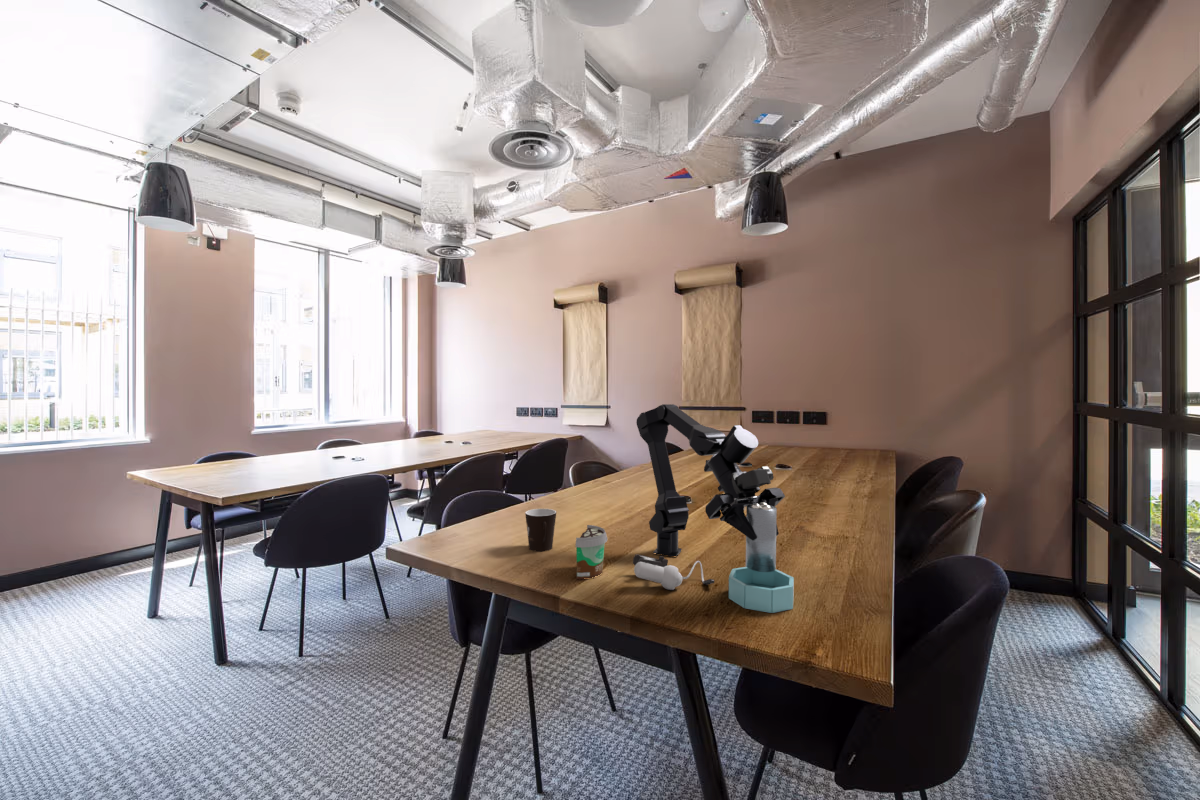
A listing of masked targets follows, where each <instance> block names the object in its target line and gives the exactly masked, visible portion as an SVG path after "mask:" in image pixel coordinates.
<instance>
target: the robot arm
mask: <svg viewBox="0 0 1200 800" xmlns="http://www.w3.org/2000/svg"><path fill="white" fill-rule="evenodd" d="M635 423H636V426H637V429H638V432H639V436H640V437H641V439H642V440H644V442H645V443H646V444H647V448H648V453H649V456H650V462H651V466H652V467H651V468H652V471H653V472H652V473H653V475H654V481H655V485H656V490H657V495H658V496H657V498H656V502H655V504H654V512H655V513H654V515H653V516H652V517H651V518H650V520H649V521H648V524H649V529H650V530H651V531H653V532H655V533H656V548H655V549H654V550H653V551H652V554H653V553H656V554H655V555H657V554H662V555H661V556H664V555H668V556H667V557H671V556H677V555H678V556H679V555H680V554H681V552H682V551H681V550H683V549H682V548H680V547H679V531H686V528H687V523H688V520H689V517H690V515H689V512H690V510H689V507H688V504H687V498H686V497H685V495H682V496H681V495H680V494H679V492H677V489H676V485H675V484H676V483H675V480H674V476H673V475H674V474H673V470H672V466H671V462H670V457H669V453H668V448H667V444H666V439H667V435H668V434H669V426H671V427H673V428H674V430H677V432H679V433H681V435H683V436H684V437H685V438H687V440H688V444H689V447H690V448H691V449H692V450H693V452H695V454H696V455H697V456H702V457H703V456H704V457H705V456H706V457H707V456H711V457H710V458H709V459H707V460H705V465H704V468H703V471H704V472H705V473H707V472H712V474H713V475H714V477H715V479H716V481H717V482H718V484H719V485H718V486H717V490H718V491H719V492H720V493H719V494H718V493H717V494H714V496H713V497H712V498H711V500H710V501H709V502H708V503H707V504H706V505H705V514H706V515H707V517H708V519H709V520H715V519H719V520H720V521H721V522H725V523H726V524H728V525H730V526H731V527H733V528H735V529H736V530H738V531H739V532H740V533H742V535H744V536H745V537H746V536H747V537H748V538H750V539H751V540H755V539H756V535H755V533H754V531H753V529H752V527H751V525H750V523H749V521H748V519H747V518H746V513H745V507H746V508H747V505H750V504H754V503H757V504H759V503H761V502H764V503H766V504H767V505H770V506H774V507H776V506H777V505H779V503H780V502H781V501H782V500H783V499H785V498H786V496H785V494H784V492H783V491H782V488H779V487H769V488H768V487H767V488H764V489H763V490H762V491H761V492H760V493H759V491H760V490H761V488H760V487H762V486H765V485H770V484H772V483H771V481H773V480H774V477H775V476H774V473H773V472H772V470H771V469H770V467H769V466H768V465H766V466H761V467H758V468H757V469H752V470H749V471H742V470H741V468H740V466H739V465H738V464H740V465H741V464H743V463H744V462H745V461H746V460H747V459H748V458H749V456H751V454H752V453H753V452H754V450H755V449H757V447H758V446H759V440H758V438H757V437H756V435H755V434H753V433H752V432H750V431H749V430H747V429H745V428H743V427H742V425H733V426H732V427H731V429H730V430H729V432H728V434H727V435H725V433H724V432H723V431H721V430H718V429H717V428H714V427H709V426H705V425H703V424H701V423H700V422H699V421H697V420H695V419H694V418H693V417H692V416H690V415H688V414H687V413H686V412H685V411H683V410H681V409H680V407H679V406H678V405H676V404H674V403H671V404H669V403H668V404H667V403H665V404H660V405H657V406H656V407H655V408H652V409H650V410H647V411H643V412H641V413H640V414H639V416H637V418H636V422H635ZM721 492H723V493H721ZM756 493H759V495H756ZM779 533H780V532H779V528H778V524H777V523H776V537H777V536H779ZM678 556H677V557H678Z"/></svg>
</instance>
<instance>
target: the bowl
mask: <svg viewBox="0 0 1200 800" xmlns="http://www.w3.org/2000/svg"><path fill="white" fill-rule="evenodd" d="M794 580H795V577H794V576H792V575H789V574H787V573H785V572H783V571H781V570H779V569H776V570H775V571H772V572H758V571H754V570H751V569H749V568H747V567H746V566H742V567H737V568H732V569H731V571H730V573H729V576H728V599H729V600H731V601H733V602H734V603H735V604H737V605H738V606H740V607H742V608H743V609H748V610H753V611H758V612H765V613H770V614H771V613H772V614H774V613H775V614H776V613H779V612H784V611H789V610H793V609H794V597H795V596H794V591H795V589H794V586H795V585H794V582H795V581H794Z"/></svg>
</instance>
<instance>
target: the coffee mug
mask: <svg viewBox="0 0 1200 800" xmlns="http://www.w3.org/2000/svg"><path fill="white" fill-rule="evenodd" d="M524 515H525V523H526V531H527V541H528V550H530V551H532V552H538V553H539V552H547V551H551V550H552V549H553V543H554V536H555V535H554V534H555V526H556V520H557V519H556V518H557V511H556V509H552V508H533V509H529V510H527V511H525V513H524Z"/></svg>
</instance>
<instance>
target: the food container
mask: <svg viewBox="0 0 1200 800" xmlns="http://www.w3.org/2000/svg"><path fill="white" fill-rule="evenodd" d="M586 525H587V526H586V530H585V531H583V532H582V533H581V535H580V537H576V539H575V548H576V553H575V555H576V580H577V579H584V578H592V577H595V576H598V575H600V574H601V573H602V574H603V570H604V569H603V568H604V567H603V566H604V557H605V555H604V554H605V543H607V542H608V536H607V532H606V530H605V529H604V527H601V526H597V525H592V524H591V525H590V524H586ZM600 576H601V575H600Z"/></svg>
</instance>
